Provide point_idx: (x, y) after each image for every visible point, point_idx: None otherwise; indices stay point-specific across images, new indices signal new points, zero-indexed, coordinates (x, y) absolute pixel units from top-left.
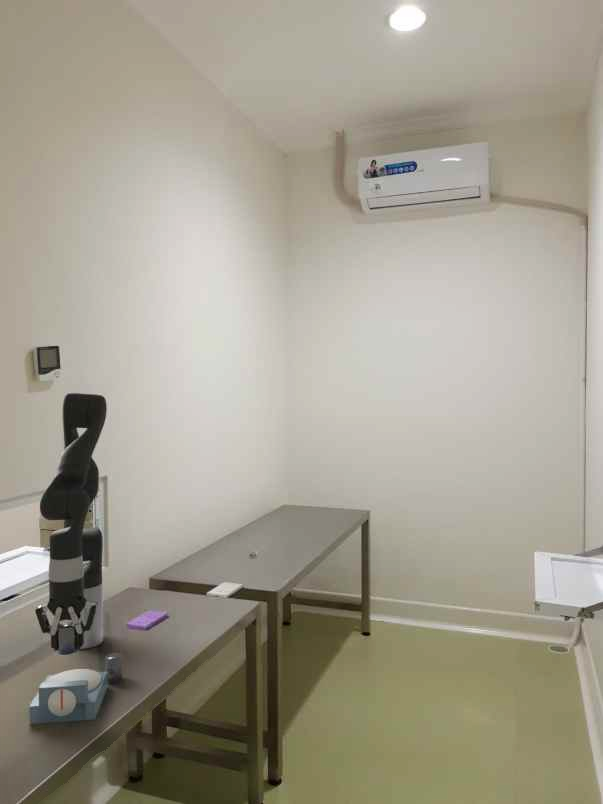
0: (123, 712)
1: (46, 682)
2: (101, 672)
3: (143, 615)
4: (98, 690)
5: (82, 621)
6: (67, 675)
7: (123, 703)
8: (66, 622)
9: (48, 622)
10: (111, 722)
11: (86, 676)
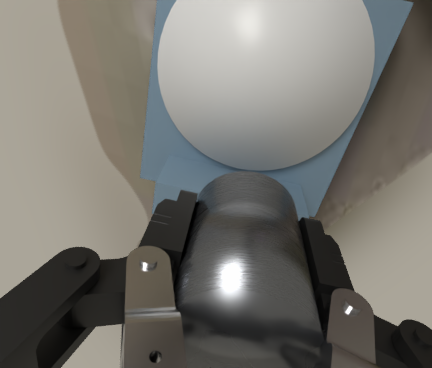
0: (381, 182)
1: (171, 185)
2: (387, 3)
3: None
4: (339, 156)
5: (371, 358)
6: (244, 8)
7: (398, 136)
8: (232, 304)
9: (69, 306)
10: (341, 213)
11: (318, 50)
